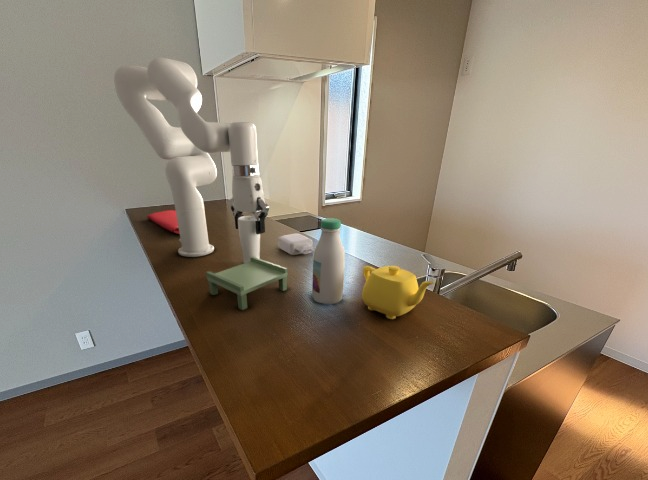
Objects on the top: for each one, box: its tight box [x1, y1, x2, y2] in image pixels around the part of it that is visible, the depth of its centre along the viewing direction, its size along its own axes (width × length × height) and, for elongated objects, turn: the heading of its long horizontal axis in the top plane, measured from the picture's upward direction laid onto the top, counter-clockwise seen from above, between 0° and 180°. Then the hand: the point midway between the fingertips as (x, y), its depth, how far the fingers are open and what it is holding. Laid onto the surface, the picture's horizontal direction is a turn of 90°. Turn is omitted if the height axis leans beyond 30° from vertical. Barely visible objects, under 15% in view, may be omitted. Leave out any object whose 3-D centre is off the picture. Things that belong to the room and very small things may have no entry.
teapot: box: [361, 265, 436, 320], centre depth 73 cm, size 18×11×11 cm, turn 39°
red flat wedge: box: [146, 209, 180, 235], centre depth 151 cm, size 16×41×4 cm, turn 36°
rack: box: [205, 257, 289, 311], centre depth 84 cm, size 14×16×6 cm
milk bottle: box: [311, 217, 346, 305], centre depth 77 cm, size 8×8×20 cm
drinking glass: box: [237, 215, 261, 264], centre depth 100 cm, size 7×7×15 cm
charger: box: [277, 232, 315, 256], centre depth 113 cm, size 5×9×15 cm
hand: (250, 230), depth 99 cm, fingers open, 9 cm apart
